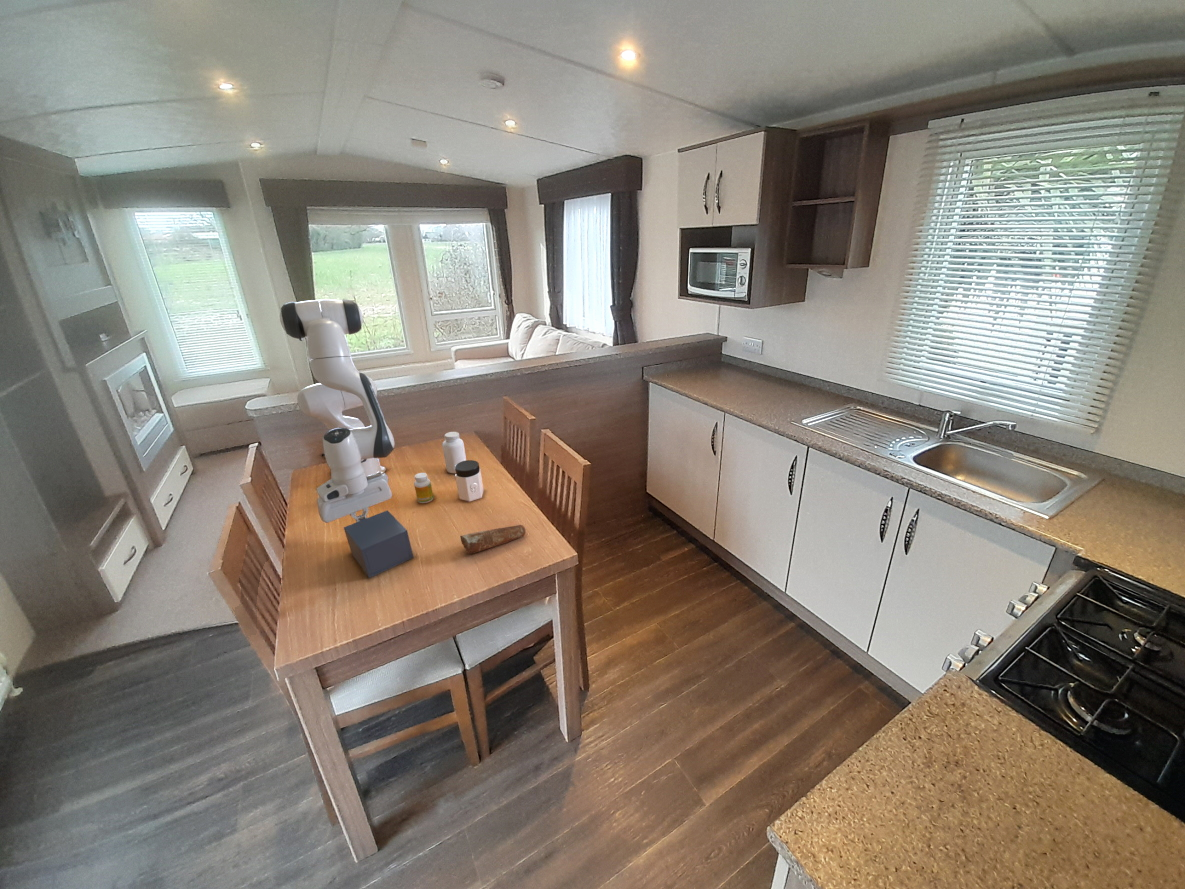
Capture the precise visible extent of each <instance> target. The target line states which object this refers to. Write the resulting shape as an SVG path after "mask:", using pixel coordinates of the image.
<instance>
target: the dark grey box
mask: <svg viewBox="0 0 1185 889" xmlns="http://www.w3.org/2000/svg"><path fill="white" fill-rule="evenodd" d="M343 530H344V533H345V537H346V540H347V543H348V547H349V550H350V554H351V555H352V557H353V559H354V560H355V561H356V562H357V564H358V565H359V567H360V568H361V569H362V570H363V572H364V573H365V575H366V576H367V577H368V578H369V579H371V578H373V577H376V576H378V575H380V574H382V573H385V572H386V571H388V570H390V569H393V568H395V567H397V566H399V565H401V564H403V563H406V562H408V561H410V560H412V559H414V553H413V549H412V545H411V541H410V536H409V533H408V532H409V531H408V530H407V528H406V527H405V526H403V524H402V523H401V522H400V521H399V520H398V519H397V518H396V517H395V516H394V515H393V514H392V513H391V512H390V511H389V510H388V509H386V510H384V511H382V512H379V513H377V514H373V515H371V516H369V517H367V518H366V519H364V520H361V521H359V522H356V521H355V522H354V523H350V524H348V525H346V526H344V527H343Z"/></svg>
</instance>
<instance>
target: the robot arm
mask: <svg viewBox="0 0 1185 889" xmlns="http://www.w3.org/2000/svg"><path fill="white" fill-rule="evenodd" d="M279 322H280V325H281V327H282V329H283V330H284V331H285V333H286V335H287V336H289V337H291V338H292V339H293V338H294V339H298V340H299V341H300V342H303V339H304V338H306V349H307V355H308V361H309V367H310V369H311V373H312V376H313V378H314V379H315V380H316V381H317V382H318V383H315V384H311V385H308V386H306V387H304V388H302V389H300V390H299V392H298V394H297V395H296V401H297V402H296V403H297V407H298V408H299V409H300V411H301V412H302V413H303V414H305V415H306V416H308V417H311V418H314V419H316V420H318V421H319V422H321V423H322V424H324V425H325V427H326V428H327V429H328V431H326V432H325V433H324V434H323V436H322V446H323V453H321V457H323V456H324V458H325V461H326V464H327V466H328V468H329V469H330V479H329V480H327V481H326V482H324V483H322V484H321V485H319V486H318V487H317V488H316V493H317V495H318V498H317V501H316V503H317V504H316V505H317V506H316V507H317V512H318V515H319V518H320V519H321V521H322V522H323V523H326V524H328V523H331V522H333V521H336V520H338V519H341V518H344V517H346V516H351V518H353V519H354V521H355V523H356V522H359V521H361V520H364V519H366V518H368V517H367V516H368V513H369V511H370V509H369V508H370V507H372V506H375V505H378V504H381V503H384V502H386V501H388V500H391V499H392V496H393V493H392V490H391V487H390V485H389V477H388V474H387V473H385V472H386V471H387V469H386V467H385V466H383V465H381V462H380V459H382V458H383V459H384V458H387V457H388V456H389V455H390V454H392V452H393V451H394V450H395V445H396V444H395V438H394V435H393V433H392V431H391V429H390V428H389V426H388V423H387V421H386V420H387V419H386V418H385V416H384V413H383V410H382V408H381V405H380V403H379V400H378V398H377V395H378V387H377V384H376V382H375V380H373V379H372V378H371V377H369V376H367V375H366V374H365V373H363V372H360V371H359V370H358V369H357V367H356V366H355V364H354V362H353V358H352V354H351V353H352V352H351V349H350V344H349V342H348V339H347V337H346V335H349V336H352V335H355V334H357V333H359V332H360V331H361V330H362V329H363V328H362V327H363V322H364V316H363V313H362V310H361V309H360V307H359V306H358V304H357V302H355V301H354V300H350V299H345V298H343V299H342V300H341V299H331V298H330V299H328V298H327V299H326V298H325V299H322V298H321V299H320V298H319V299H316V300H312V299H311V300H304V301H298V302H295V301H290V302H287V303H284V304H282V306H281V307H280V312H279ZM359 407H364V410H365V413H366V415H367V417H368V420H369V423H370V425H369V426H366V427H365V424H364V423H363V421H362V420H360V419H359V418H356V417H352V416H346V415H343V412H345V411H346V410H351V409H356V408H359ZM359 511H362V513H361V514H358V515H357V512H359Z"/></svg>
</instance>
